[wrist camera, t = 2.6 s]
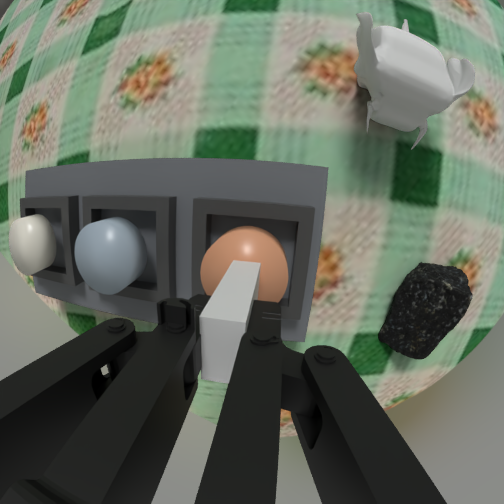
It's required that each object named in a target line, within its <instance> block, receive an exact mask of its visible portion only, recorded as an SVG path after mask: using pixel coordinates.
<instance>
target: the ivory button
mask: <svg viewBox="0 0 504 504" xmlns="http://www.w3.org/2000/svg"><path fill="white" fill-rule="evenodd" d="M9 247H10V252H11V256H12V258H13V261H14V263H15V265H16V266H17V268H18V269H19V270H20V271H21V272H22V273H23V274H25V275H32V274H34V273H36V272H38V271H40V270H42V269H45V268H47V267H49V266H50V265H51V264H52V263H53V262H54V259H55V256H56V238H55V234H54V231H53V228H52V226H51V224H50V222H49V221H48V220H47V219H46V218H45V217H44V216H43V215H40V214H35V215H31V216H27V217H23V218H19V219H16V220H15V221H14V222H13V223H12V225H11V228H10V232H9Z"/></svg>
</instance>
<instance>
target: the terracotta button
mask: <svg viewBox="0 0 504 504" xmlns="http://www.w3.org/2000/svg"><path fill="white" fill-rule="evenodd" d="M233 260H237V261H247V262H257V263H261V268H260V280H259V291H258V300H261V301H271V302H277V303H278V302H279V301H280V300H281V298H282V297H283V295H284V293H285V291H286V288H287V284H288V267H287V258H286V253H285V251H284V248H283V246H282V245H281V243H280V242H279V240H278V239H277V238H276V237H275V236H274V235H272V234H271V233H270V232H268V231H266V230H264V229H262V228H259V227H255V226H240V227H236V228H233V229H231V230H229V231H227V232H226V233H224V234H223V235H222V236H221V237H220V238H219V239H218V240H217V241H216V242H215V243H214V244H213V245H212V246H211V247H210V248H209V249H208V250H207V252H206V254H205V255H204V258H203V260H202V264H201V271H200V274H201V282H202V285H203V288H204V290H205V292H206V294H207V295H210V296H212V295H213V293H214V291H215V290H216V288H217V286H218V285H219V283H220V281H221V280H222V278H223V276H224V275H225V273H226V271H227V270H228V268H229V266H230V265H231V263H232V262H233Z"/></svg>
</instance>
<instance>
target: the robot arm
mask: <svg viewBox="0 0 504 504" xmlns="http://www.w3.org/2000/svg"><path fill="white" fill-rule="evenodd" d="M260 268H261V263H257V262H247V261H237V260H233V262H232V263H231V265H230V266H229V268H228V270H227V271H226V273H225V275H224V276H223V278H222V280H221V281H220V283H219V285H218V286H217V288H216V290H215V291H214V293H213V295H212V296H210V295H203V294H197V295H195V296H193V297H191V298H190V299H189V300H188V299H183V298H167V299H163V300H160V301H159V302H157V316H158V326H157V327H156V328H155V329H154V331H153V332H136V331H135V326H134V324H133V322H131V321H130V320H127V319H123V318H114V319H109V320H107V321H104V322H102V323H101V324H99V325H97V326H95V327H94V328H92V329H90V330H88V331H86V332H85V333H83V334H81V335H79V336H78V337H76V338H74V339H72V340H71V341H69V342H67V343H65V344H63V345H62V346H60V347H58V348H56V349H55V350H53V351H51V352H50V353H48V354H46V355H44V356H42V357H41V358H39V359H37V360H36V361H34V362H32V363H30V364H29V365H27V366H25V367H24V368H22V369H20V370H18V371H16V372H15V373H13V374H11V375H10V376H8V377H6V378H5V379H3V380H1V381H0V504H151V502H152V500H153V498H154V495H155V492H156V490H157V488H158V485H159V483H160V480H161V478H162V475H163V473H164V470H165V468H166V465H167V463H168V460H169V458H170V455H171V452H172V450H173V448H174V445H175V443H176V440H177V438H178V435H179V433H180V430H181V428H182V425H183V423H184V420H185V418H186V415H187V413H188V410H189V408H190V405H191V403H192V401H193V398H194V396H195V393H196V391H197V388H198V374H199V372H200V370H201V379H204V380H210V381H216V382H222V383H229V384H228V388H227V391H226V395H225V399H224V402H223V406H222V409H221V413H220V417H219V420H218V424H217V427H216V431H215V434H214V438H213V441H212V445H211V448H210V452H209V455H208V459H207V462H206V466H205V469H204V473H203V476H202V480H201V483H200V486H199V490H198V493H197V497H196V500H195V504H275V499H276V484H277V470H278V455H279V436H280V414H281V409H284V410H288V411H291V417H292V420H293V423H294V426H295V429H296V431H297V434H298V437H299V440H300V443H301V446H302V448H303V451H304V454H305V457H306V460H307V463H308V465H309V468H310V471H311V474H312V477H313V479H314V482H315V485H316V488H317V490H318V493H319V496H320V499H321V502H322V504H447V503H446V502H445V500H444V498H443V497H442V495H441V494H440V492H439V491H438V489H437V488H436V486H435V485H434V483H433V482H432V480H431V479H430V477H429V476H428V474H427V473H426V471H425V470H424V468H423V467H422V465H421V464H420V462H419V461H418V459H417V458H416V456H415V455H414V453H413V452H412V450H411V449H410V448H409V446H408V445H407V443H406V442H405V440H404V439H403V437H402V436H401V434H400V433H399V432H398V430H397V429H396V427H395V426H394V424H393V423H392V421H391V420H390V419H389V417H388V416H387V414H386V413H385V411H384V410H383V408H382V407H381V406H380V404H379V403H378V401H377V400H376V398H375V397H374V396H373V394H372V393H371V391H370V390H369V388H368V387H367V386H366V384H365V383H364V381H363V380H362V378H361V377H360V376H359V374H358V373H357V371H356V370H355V369H354V367H353V366H352V364H351V363H350V362H349V360H348V359H347V357H346V356H345V355H344V354H343V353H342V352H341V351H340V350H338V349H336V348H334V347H331V346H326V345H317V346H313V347H310V348H309V349H307V350H306V351H305V353H304V354H303V353H299V352H296V351H293V350H291V349H289V348H287V347H286V346H285V345H284V344H283V343H282V339H281V307H280V306H279V304H278V303H277V302H271V301H261V300H258V291H259V280H260ZM106 364H107V368H108V371H109V373H107V374H106V375H102V372H101V368H102V367H103V366H105V365H106Z"/></svg>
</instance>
